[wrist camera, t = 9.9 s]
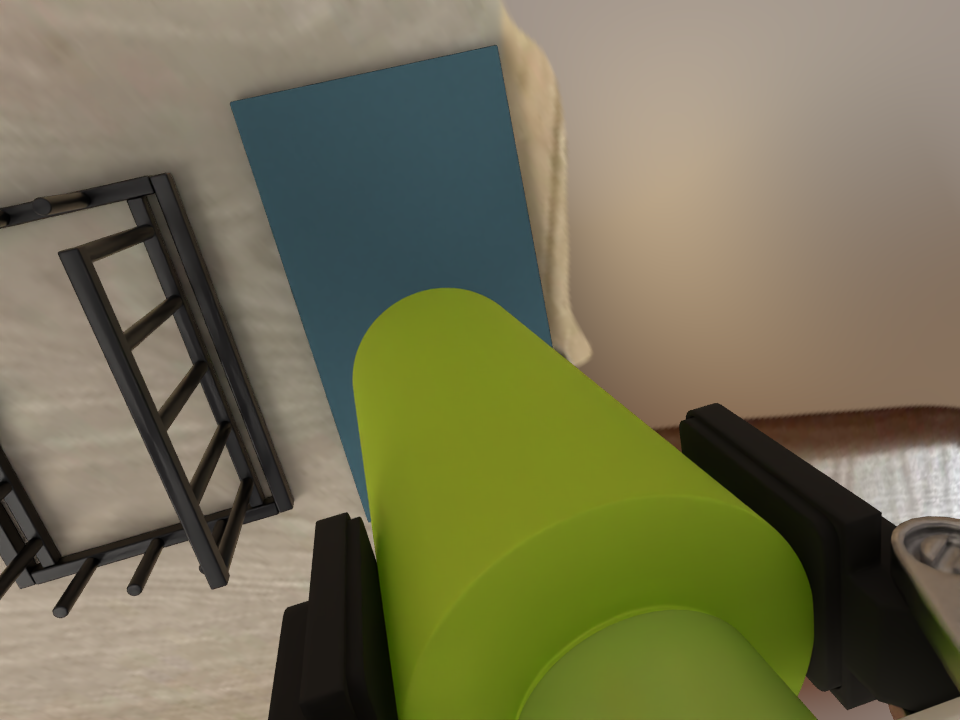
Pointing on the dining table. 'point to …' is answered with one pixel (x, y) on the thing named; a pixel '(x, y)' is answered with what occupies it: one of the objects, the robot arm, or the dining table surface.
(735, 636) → the soap dispenser
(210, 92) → the dining table surface
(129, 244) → the dish rack
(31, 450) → the dining table surface
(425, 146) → the drying mat
